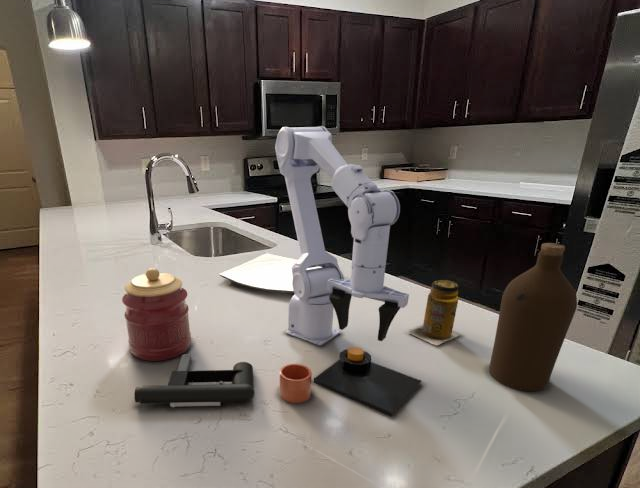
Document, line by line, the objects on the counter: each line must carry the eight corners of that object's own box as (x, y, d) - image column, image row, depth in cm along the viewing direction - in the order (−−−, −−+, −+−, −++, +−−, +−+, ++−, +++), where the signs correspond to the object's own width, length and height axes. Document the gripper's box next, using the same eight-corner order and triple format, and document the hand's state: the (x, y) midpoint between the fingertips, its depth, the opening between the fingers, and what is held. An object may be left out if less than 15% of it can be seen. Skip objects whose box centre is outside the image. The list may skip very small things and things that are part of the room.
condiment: (459, 335, 92) (470, 284, 88) (436, 346, 88) (445, 293, 83) (430, 323, 98) (439, 275, 93) (407, 333, 94) (414, 283, 89)
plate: (213, 283, 125) (212, 274, 124) (265, 259, 147) (265, 251, 146) (295, 303, 110) (296, 293, 109) (341, 273, 132) (341, 265, 131)
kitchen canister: (156, 328, 98) (147, 255, 91) (203, 339, 92) (197, 263, 85) (116, 354, 87) (103, 273, 80) (167, 368, 82) (157, 283, 75)
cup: (273, 394, 73) (273, 372, 71) (291, 381, 77) (292, 360, 75) (298, 407, 70) (298, 384, 68) (316, 392, 73) (317, 371, 72)
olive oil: (550, 401, 70) (595, 258, 60) (480, 381, 76) (512, 248, 66) (552, 372, 78) (593, 242, 68) (489, 356, 84) (519, 234, 74)
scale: (313, 382, 76) (314, 370, 75) (348, 356, 85) (349, 345, 84) (391, 417, 67) (392, 404, 66) (421, 383, 76) (423, 371, 75)
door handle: (152, 351, 83) (131, 395, 68) (253, 349, 83) (254, 393, 68) (154, 366, 84) (133, 413, 69) (253, 364, 84) (254, 410, 69)
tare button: (344, 358, 80) (344, 351, 79) (352, 352, 82) (352, 345, 81) (358, 363, 78) (359, 356, 78) (366, 357, 80) (366, 350, 80)
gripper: (320, 261, 74) (317, 330, 79) (401, 277, 65) (392, 353, 71) (339, 252, 79) (334, 317, 84) (416, 266, 71) (406, 337, 76)
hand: (362, 333), depth 78 cm, fingers open, 7 cm apart
